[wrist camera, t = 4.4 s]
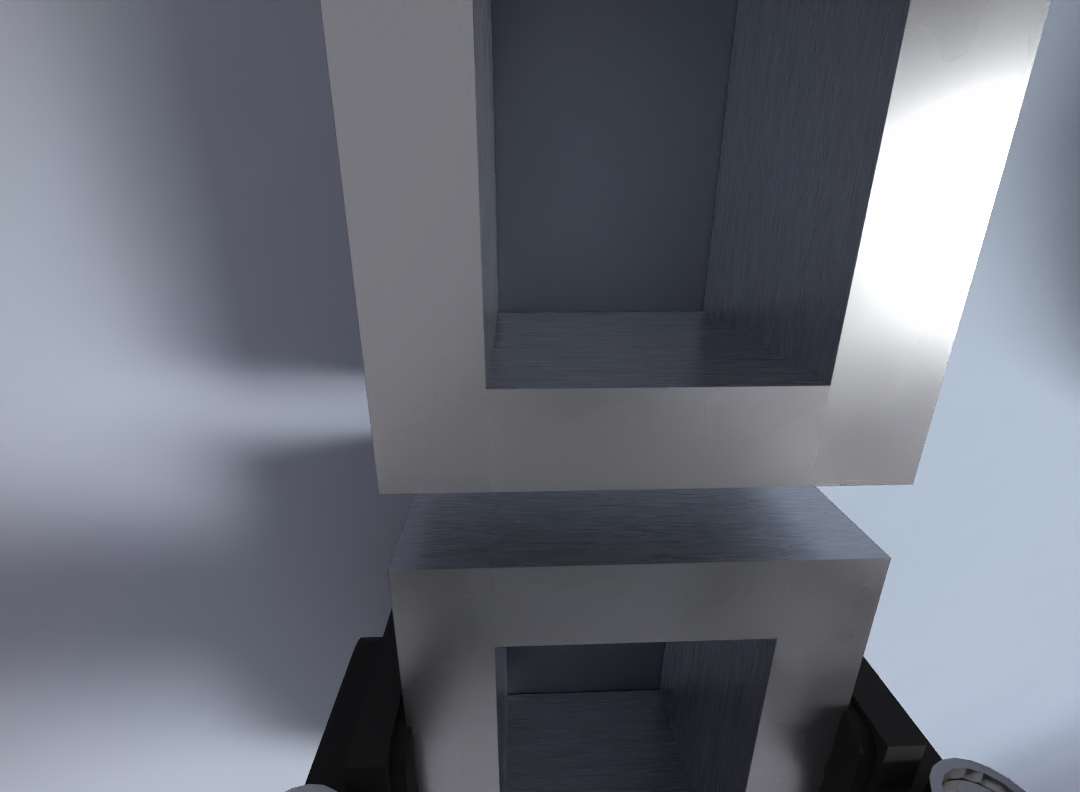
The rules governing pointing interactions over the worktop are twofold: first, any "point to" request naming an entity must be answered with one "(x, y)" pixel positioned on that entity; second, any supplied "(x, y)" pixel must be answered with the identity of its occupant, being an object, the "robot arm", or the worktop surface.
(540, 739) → the link
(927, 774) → the robot arm
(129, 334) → the worktop surface
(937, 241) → the grey hollow block
